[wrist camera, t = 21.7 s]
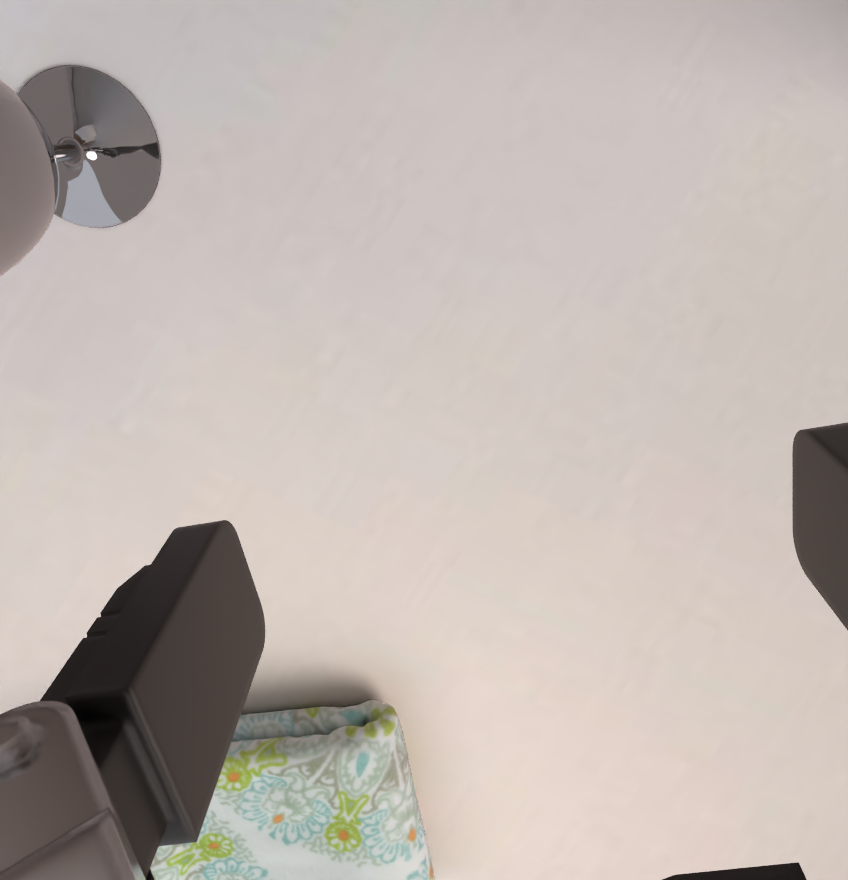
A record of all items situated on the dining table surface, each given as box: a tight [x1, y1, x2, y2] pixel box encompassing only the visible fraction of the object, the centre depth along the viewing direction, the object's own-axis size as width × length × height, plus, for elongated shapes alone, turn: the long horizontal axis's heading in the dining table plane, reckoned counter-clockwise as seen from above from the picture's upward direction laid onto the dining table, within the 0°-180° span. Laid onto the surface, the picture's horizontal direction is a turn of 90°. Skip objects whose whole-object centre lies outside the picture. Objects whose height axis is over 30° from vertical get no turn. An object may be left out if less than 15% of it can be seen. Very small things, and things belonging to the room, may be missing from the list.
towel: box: [150, 700, 435, 880], centre depth 50 cm, size 18×21×5 cm
